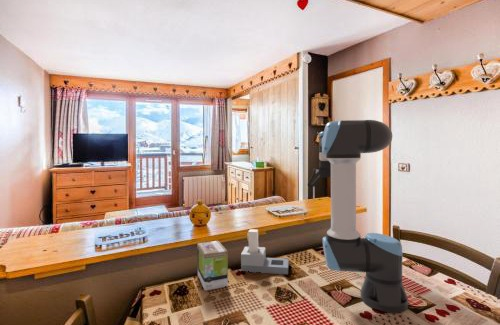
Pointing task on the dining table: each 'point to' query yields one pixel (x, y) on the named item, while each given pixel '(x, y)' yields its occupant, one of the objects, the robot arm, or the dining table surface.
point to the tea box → (212, 265)
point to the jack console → (262, 262)
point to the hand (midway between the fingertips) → (326, 199)
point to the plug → (253, 240)
